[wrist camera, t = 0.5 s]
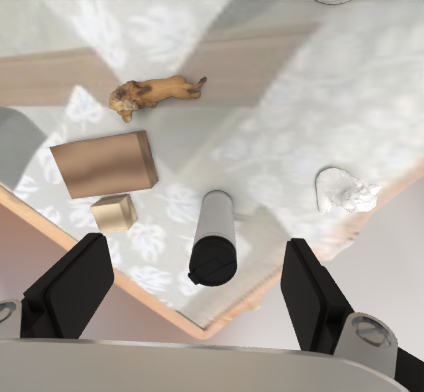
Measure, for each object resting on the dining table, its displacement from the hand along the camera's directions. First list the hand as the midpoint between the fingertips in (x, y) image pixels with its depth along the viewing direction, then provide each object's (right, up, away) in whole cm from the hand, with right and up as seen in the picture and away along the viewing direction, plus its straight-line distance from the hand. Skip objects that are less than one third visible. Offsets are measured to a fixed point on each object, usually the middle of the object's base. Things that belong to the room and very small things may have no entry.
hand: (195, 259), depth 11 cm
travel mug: (+2, +2, +34) cm, 35 cm away
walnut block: (-19, +10, +32) cm, 39 cm away
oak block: (-19, +1, +36) cm, 41 cm away
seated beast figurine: (+24, +6, +32) cm, 40 cm away
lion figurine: (-7, +21, +27) cm, 35 cm away
